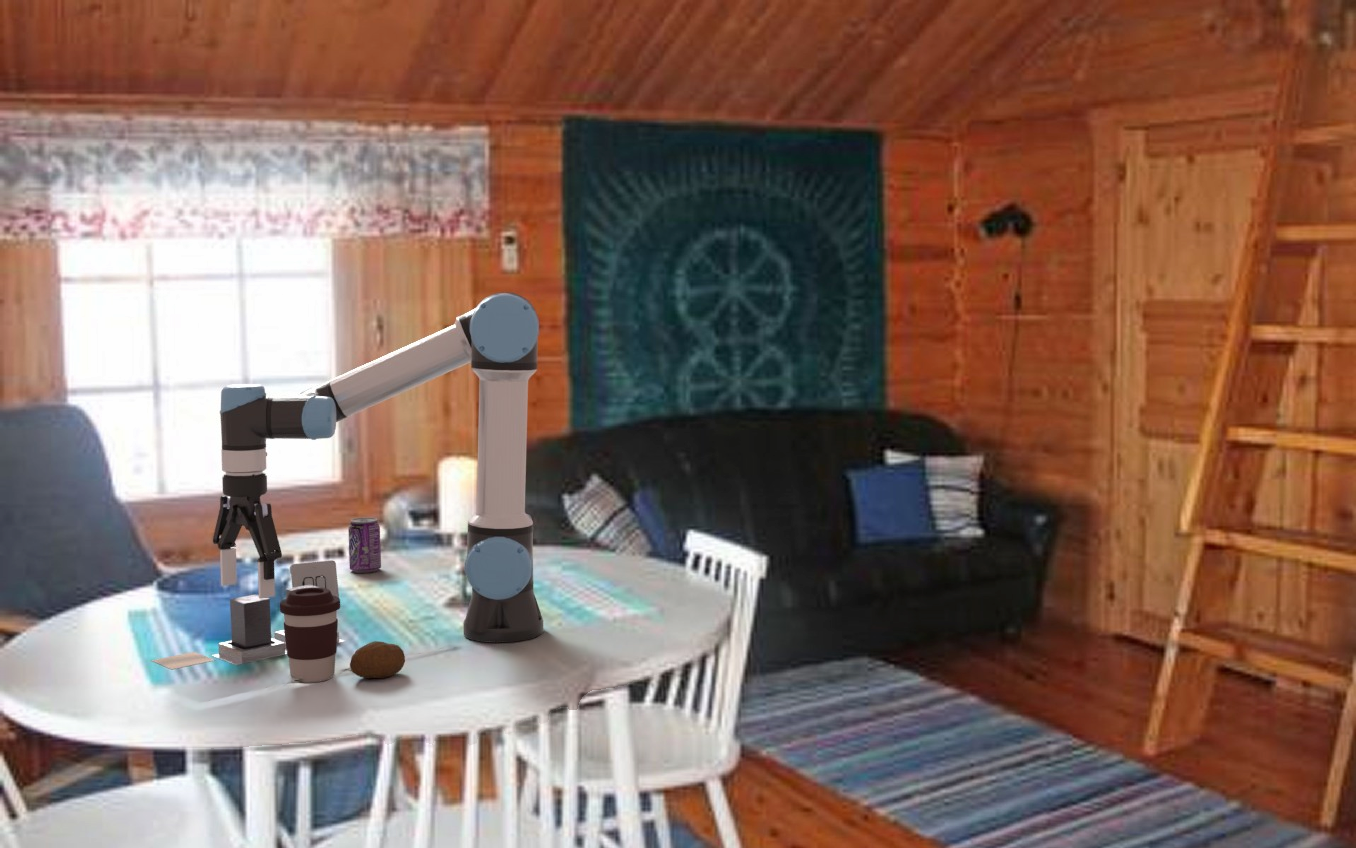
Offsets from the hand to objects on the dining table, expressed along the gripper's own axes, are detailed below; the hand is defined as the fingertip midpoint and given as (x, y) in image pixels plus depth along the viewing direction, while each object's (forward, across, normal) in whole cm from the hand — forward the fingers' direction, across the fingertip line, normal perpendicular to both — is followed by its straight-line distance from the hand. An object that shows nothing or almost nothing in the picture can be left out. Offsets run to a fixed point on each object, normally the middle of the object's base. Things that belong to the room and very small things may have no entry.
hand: (247, 591), depth 253 cm
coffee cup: (+12, -18, -2) cm, 22 cm away
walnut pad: (+13, +5, +10) cm, 17 cm away
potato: (+12, -26, -10) cm, 31 cm away
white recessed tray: (+12, 0, -6) cm, 14 cm away
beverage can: (+12, +50, -56) cm, 76 cm away
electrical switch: (+13, +29, -30) cm, 43 cm away
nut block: (+11, 0, 0) cm, 11 cm away
